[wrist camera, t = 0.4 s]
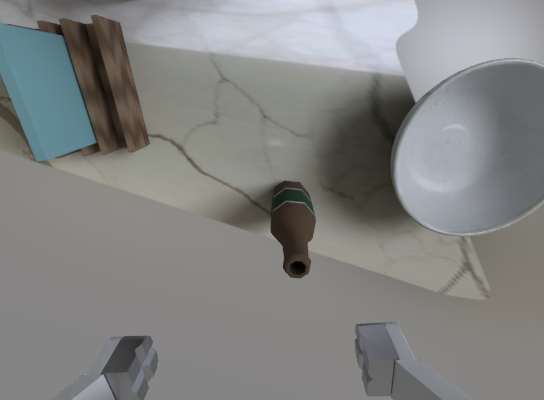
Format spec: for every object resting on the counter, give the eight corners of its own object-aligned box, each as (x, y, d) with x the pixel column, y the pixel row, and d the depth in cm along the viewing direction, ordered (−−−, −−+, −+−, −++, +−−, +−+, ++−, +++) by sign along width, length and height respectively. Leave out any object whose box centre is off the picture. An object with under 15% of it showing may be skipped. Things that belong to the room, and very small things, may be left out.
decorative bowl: (415, 38, 48) (457, 26, 37) (551, 94, 51) (629, 99, 39) (346, 183, 58) (362, 208, 47) (463, 223, 61) (505, 256, 50)
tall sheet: (72, 40, 47) (-21, 23, 33) (81, 39, 47) (-8, 21, 32) (102, 138, 53) (36, 161, 39) (110, 137, 53) (47, 160, 39)
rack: (38, 31, 48) (4, 24, 42) (119, 22, 48) (96, 14, 42) (78, 149, 56) (55, 158, 50) (149, 143, 55) (134, 152, 49)
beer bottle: (277, 218, 61) (276, 298, 39) (266, 184, 58) (259, 250, 36) (313, 209, 60) (333, 285, 38) (303, 174, 57) (320, 235, 35)
